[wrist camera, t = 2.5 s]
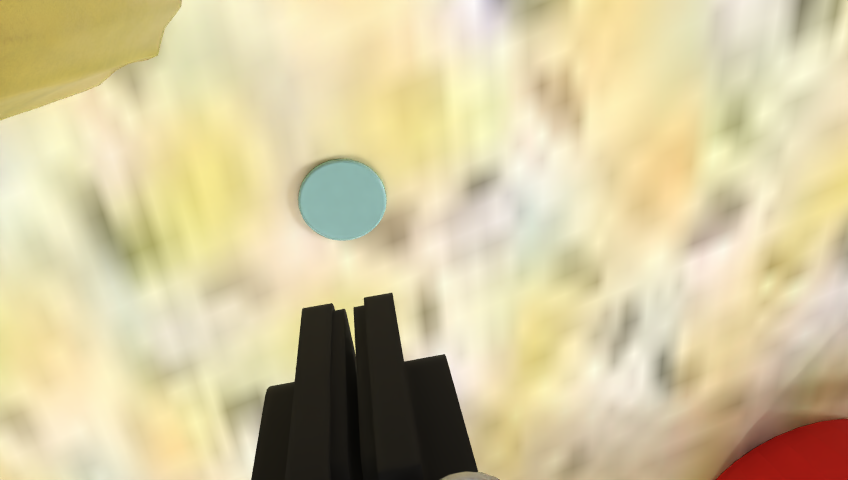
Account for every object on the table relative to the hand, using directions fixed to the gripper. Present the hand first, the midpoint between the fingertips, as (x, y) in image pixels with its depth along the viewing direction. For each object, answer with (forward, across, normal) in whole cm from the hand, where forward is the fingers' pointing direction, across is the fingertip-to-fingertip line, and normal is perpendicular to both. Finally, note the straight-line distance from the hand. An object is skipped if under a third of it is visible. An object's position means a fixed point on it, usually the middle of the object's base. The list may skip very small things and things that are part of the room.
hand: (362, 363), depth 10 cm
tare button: (+8, 0, 0) cm, 8 cm away
